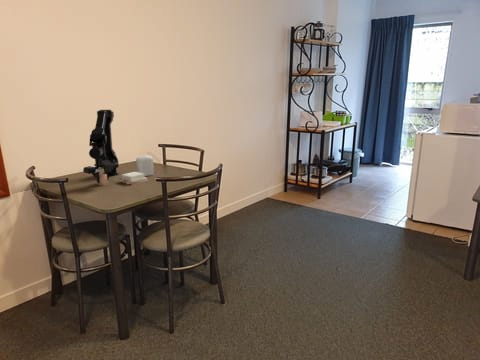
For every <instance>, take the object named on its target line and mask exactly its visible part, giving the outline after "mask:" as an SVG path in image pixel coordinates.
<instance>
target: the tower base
mask: <svg viewBox="0 0 480 360" xmlns="http://www.w3.org/2000/svg"><path fill="white" fill-rule="evenodd" d="M145 181H146V182H148V181H149V180H148V177H146V176H145V178H143V179H139V180H135V181H129V180H125V179H122V177H121V178H119V182H120V183H121V182H122V183H123V184H125V183H126V185H129V184H131V185H130V186H134V184H135V185H137V183H138V184H141V182H142V183H145ZM122 183H121V184H122Z"/></svg>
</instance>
